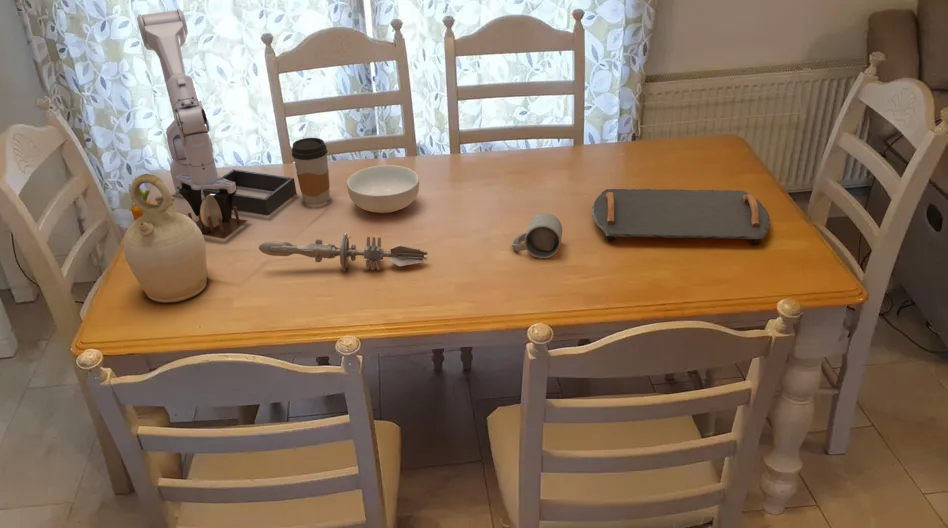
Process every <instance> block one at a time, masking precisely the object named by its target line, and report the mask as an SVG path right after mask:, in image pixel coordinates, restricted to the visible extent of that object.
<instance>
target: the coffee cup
mask: <svg viewBox="0 0 948 528" xmlns="http://www.w3.org/2000/svg"><path fill="white" fill-rule="evenodd" d="M327 147H328V146H327V144H326V143H325V141H324V139H322V138H319V137H305V138H301V139H297V140H296V141H294V142H293V143H292V148H291V156H292V158H293V162H294V166H295V172H296V176H297V180H298V185H299V189H300V192H301V196H302V200H303V201H304V203H306V204H309V205H310V204H311V205H318V204H323V203H325V202H327V201H330V200H331V190H330V170H329V163H328V161H329V160H328V152H329V151H328V149H327Z"/></svg>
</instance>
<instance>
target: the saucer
mask: <svg viewBox="0 0 948 528" xmlns="http://www.w3.org/2000/svg"><path fill="white" fill-rule="evenodd" d="M214 195H215V194H209V195H207V196H206V197H205V198H203V199H202V204H201V208H200V216H201V220H202V222H203V224H204V225H205V226H207V227H210V226H209V221H208V216H211V220H212V224H213V228H214V227H216V226H218V225H219V221H218V218H221V220H222V219H223V218H222V214H221V210H220V207H219V205H218V203H217V201H216V200H215V198H214Z"/></svg>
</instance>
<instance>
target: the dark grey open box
mask: <svg viewBox="0 0 948 528" xmlns="http://www.w3.org/2000/svg"><path fill="white" fill-rule="evenodd" d="M221 177H222V178H224V179H226V180H229V181H232V182H235V184H236V187H241V188H242V187H243V188H247V189H248V188H249V189H254V190H255V189H256V190H259V191H268V192H271V193H269V194H267V196H266V197H260V196H252V195H247V194H240V193H235V196H234V199H233V204H232V211H234V206H236V207H237V211H238V212H245V213H250V214H251V213H252V214H257V215H258V214H259V215H263V216H270V215H271V214H272V213H273V212H275V211H276V210H277V209H278V208H281V206H282V205H284V204H285V203H286V202H287V201H289V200H290V199H291V198H292V197H294V196H297V195H298V193H297V189H296V187H297V186H296V181H295V178H294V177H289V176H282V175H275V174H268V173H261V172H255V171H248V170H240V169H235V168H234V169H232V170H229V172H227V173H226V174H224V175H223V176H221ZM218 192H219V190H215V189H204V190H203V193H204V194H203V197H204V198H205V197H206V196H207V195H209V194H217V193H218ZM204 198H203V199H204Z"/></svg>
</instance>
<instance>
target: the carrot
mask: <svg viewBox="0 0 948 528" xmlns="http://www.w3.org/2000/svg"><path fill="white" fill-rule="evenodd" d="M128 191H129V192H130V189H128ZM140 194H141V196H142V198H143V199H144V200H145V201H146V202H148V203H149V204H152V205H155V204H154V203H153V202H152V201H151V200H148V196H149V194H150V189H148V188H146V189H145V191H144V192H143V190H142V188H140ZM130 199H131V200H132V198H131V197H130ZM131 213H132V216H133V220H134V221H135V220H137V219H138V218H139V217H140V216H142V215H143V211H142V210H141V209H140V208H138V207H137V206H136V205H135V203H134V204H133V205H132V207H131Z"/></svg>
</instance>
